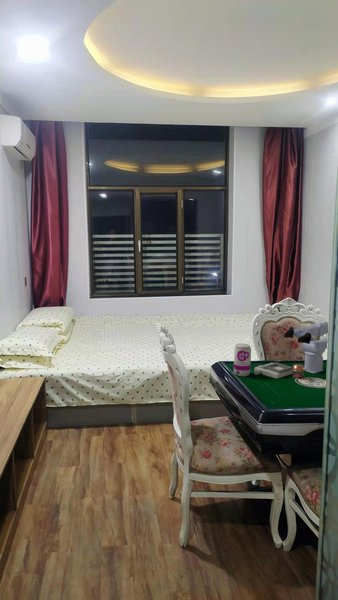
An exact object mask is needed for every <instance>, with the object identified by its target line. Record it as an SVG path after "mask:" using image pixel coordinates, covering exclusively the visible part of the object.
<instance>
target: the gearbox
mask: <svg viewBox="0 0 338 600" xmlns="http://www.w3.org/2000/svg"><path fill="white" fill-rule="evenodd" d="M253 374H254V376H257V375H264V376H267V377H270V378H274V379H280V378H282V377H286V376H290V375H293V366H289V365H285V364H282V363H279V362H270V363H267V364H263V365H258V366H256V367H254V369H253Z"/></svg>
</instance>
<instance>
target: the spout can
mask: <svg viewBox="0 0 338 600" xmlns="http://www.w3.org/2000/svg"><path fill="white" fill-rule="evenodd" d="M304 366H305V365H303V364H300V363H299V364H298V363H295V364H294V363H293V365H292V367H293V374H292V378H293V379H296V380H297V379H298V380H303V379H304V372H307V371H306V368H304Z"/></svg>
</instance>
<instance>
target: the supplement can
mask: <svg viewBox="0 0 338 600" xmlns="http://www.w3.org/2000/svg"><path fill="white" fill-rule="evenodd" d="M233 351H234V353H233V355H234V357H233V374H234V375H235V374H236V375H235V376H237V375H238V377H247V376H249V375H250V374H251V361H252V357H251V356H252V347H251V345H250V344H248V343H236V344H235V347H234V350H233Z"/></svg>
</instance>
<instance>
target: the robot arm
mask: <svg viewBox="0 0 338 600" xmlns="http://www.w3.org/2000/svg"><path fill="white" fill-rule="evenodd" d="M327 333H328V322H327V321H324V322H318V323H310V325H309V326H306V327H305V326H301V327H300V328H294V327H292V326H290V327H288V328H287V331H286V332H284V335H283V336H284V339H285V338H286V339H287V338H291V339H294V337H296V338H297V343H299V344H301V348H302V349H301V350H302V351H303V354H305V355H304V365H303V366H304V368H306V371H305V372H308V373H311V374H317V373H320V372H322V371H324V370H325V369H323V367H324V357H323V353H325V352H326V349H328V348H327V338H328V337H326V338H322V339H317V340H316V337H317V336H320V337H324V336H325V335H328V334H329V333H328V334H327Z"/></svg>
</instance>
